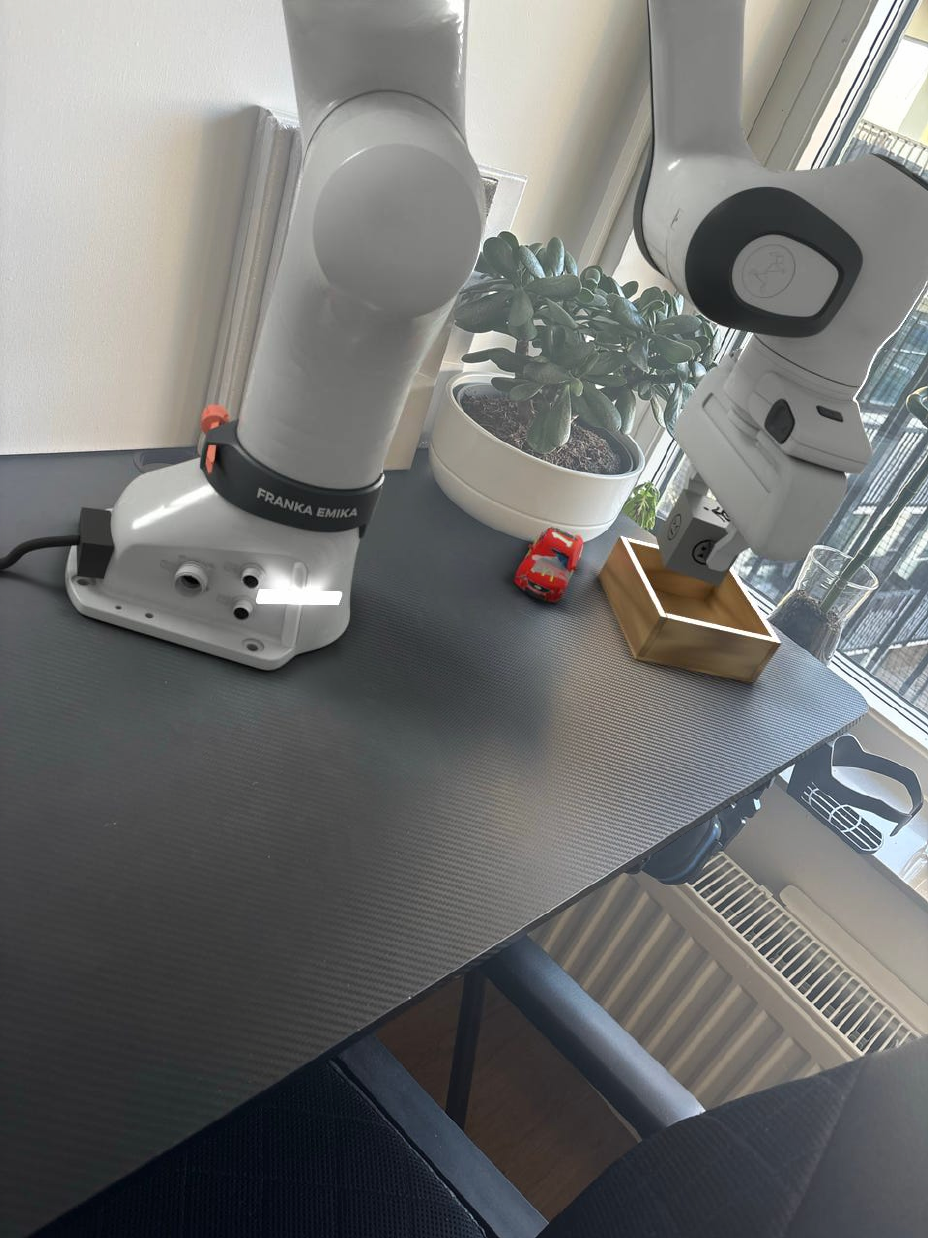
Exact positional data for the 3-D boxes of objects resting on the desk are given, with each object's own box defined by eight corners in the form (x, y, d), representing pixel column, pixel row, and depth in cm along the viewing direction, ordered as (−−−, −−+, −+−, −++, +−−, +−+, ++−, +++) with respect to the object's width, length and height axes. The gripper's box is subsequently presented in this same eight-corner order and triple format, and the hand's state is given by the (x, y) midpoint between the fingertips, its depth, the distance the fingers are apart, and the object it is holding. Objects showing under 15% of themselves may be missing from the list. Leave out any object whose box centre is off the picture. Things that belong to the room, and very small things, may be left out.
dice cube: (719, 586, 78) (750, 537, 75) (664, 567, 77) (693, 516, 74) (708, 555, 82) (737, 507, 79) (656, 537, 81) (683, 488, 79)
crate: (634, 659, 92) (660, 616, 89) (597, 576, 103) (619, 535, 100) (754, 683, 96) (782, 643, 94) (706, 601, 107) (730, 563, 104)
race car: (553, 614, 93) (570, 582, 91) (504, 589, 94) (520, 556, 91) (581, 560, 104) (597, 531, 102) (537, 538, 105) (552, 508, 102)
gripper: (703, 328, 78) (629, 471, 86) (810, 445, 62) (708, 608, 70) (766, 350, 80) (688, 488, 88) (885, 468, 64) (778, 624, 72)
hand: (698, 542), depth 79 cm, fingers closed on dice cube, 5 cm apart
